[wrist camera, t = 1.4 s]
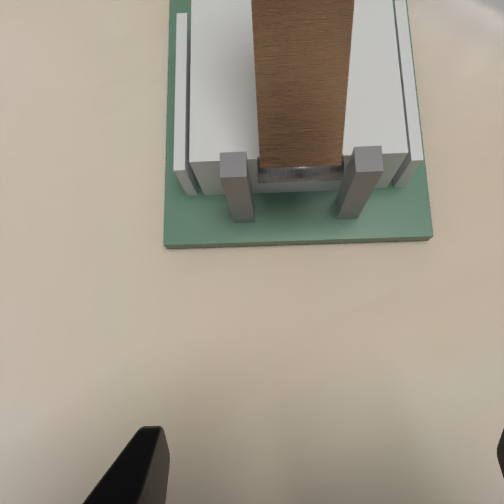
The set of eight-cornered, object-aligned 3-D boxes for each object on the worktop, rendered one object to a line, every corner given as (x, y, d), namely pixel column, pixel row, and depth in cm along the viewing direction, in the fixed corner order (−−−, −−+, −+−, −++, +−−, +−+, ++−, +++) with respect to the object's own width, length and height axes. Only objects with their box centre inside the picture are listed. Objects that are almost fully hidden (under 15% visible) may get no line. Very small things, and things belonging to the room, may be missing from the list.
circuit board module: (428, 240, 23) (491, 189, 16) (167, 248, 24) (121, 203, 17) (399, -23, 26) (440, -156, 20) (173, -9, 27) (137, -133, 20)
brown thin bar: (342, 184, 18) (381, -267, 10) (258, 188, 18) (232, -254, 10) (339, 170, 18) (373, -260, 11) (258, 174, 18) (234, -248, 11)
